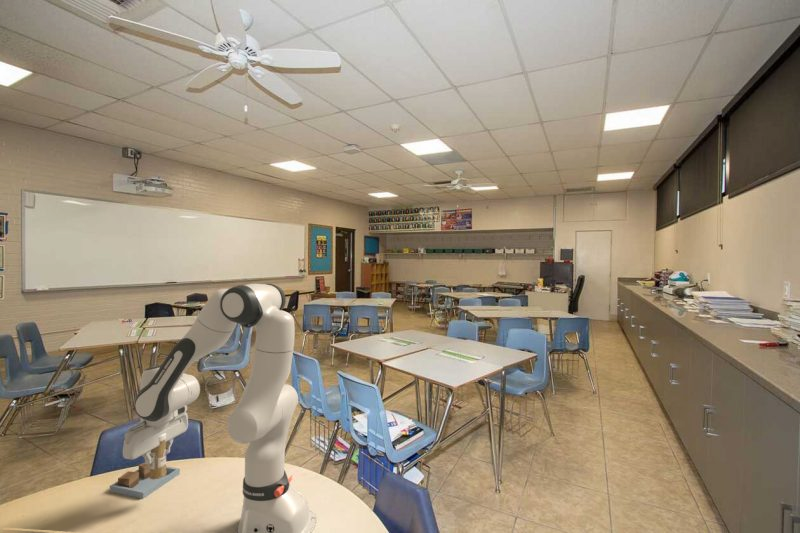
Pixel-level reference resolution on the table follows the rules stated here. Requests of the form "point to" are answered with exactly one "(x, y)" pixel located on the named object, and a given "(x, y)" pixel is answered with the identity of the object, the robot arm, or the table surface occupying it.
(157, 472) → the sprinkles bottle
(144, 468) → the walnut block
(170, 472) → the tray
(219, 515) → the table surface
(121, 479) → the walnut block
